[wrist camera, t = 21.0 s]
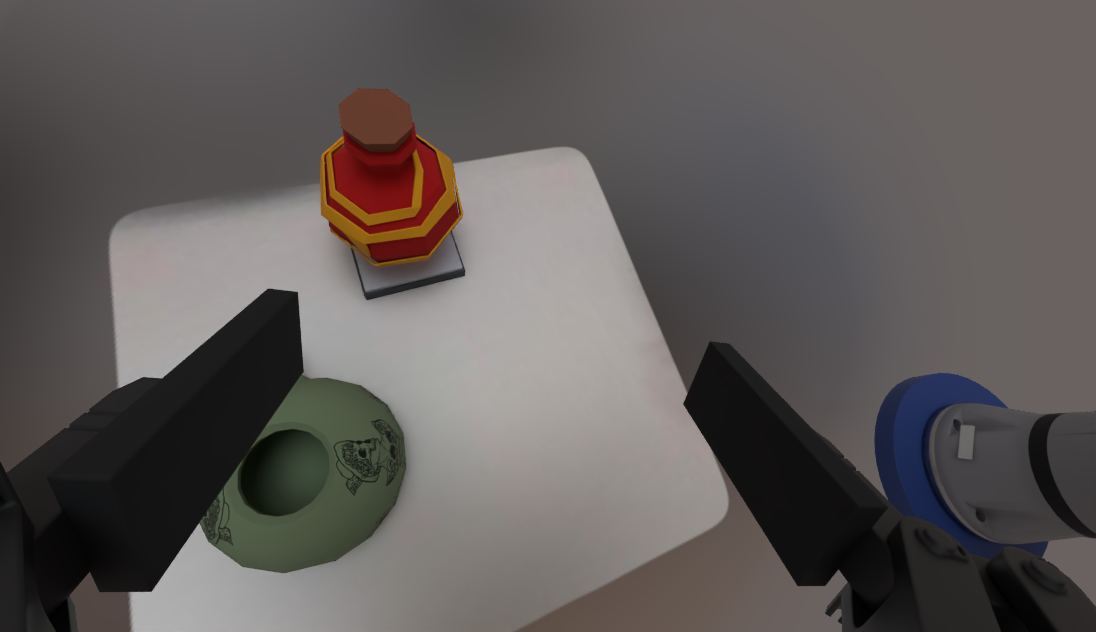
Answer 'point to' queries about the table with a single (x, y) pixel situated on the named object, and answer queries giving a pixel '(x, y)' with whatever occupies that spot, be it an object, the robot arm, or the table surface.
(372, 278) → the scale
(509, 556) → the table surface
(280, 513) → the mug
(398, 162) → the potion bottle
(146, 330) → the table surface
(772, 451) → the robot arm
